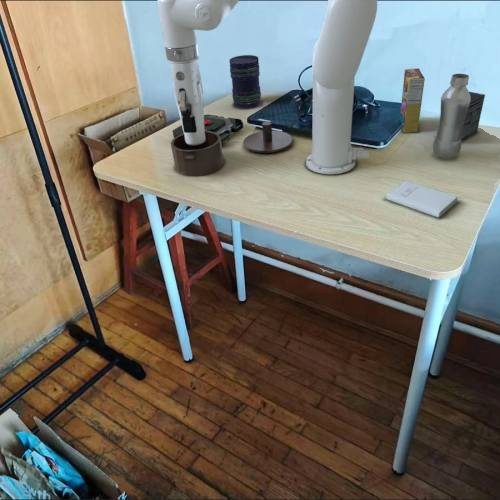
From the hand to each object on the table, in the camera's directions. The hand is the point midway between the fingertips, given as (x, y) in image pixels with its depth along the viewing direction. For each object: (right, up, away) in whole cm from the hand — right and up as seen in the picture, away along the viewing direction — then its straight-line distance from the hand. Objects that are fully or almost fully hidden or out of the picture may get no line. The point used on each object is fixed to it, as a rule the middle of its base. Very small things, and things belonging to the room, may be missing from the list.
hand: (193, 126), depth 117 cm
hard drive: (+52, -21, -16) cm, 59 cm away
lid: (+20, -1, +13) cm, 24 cm away
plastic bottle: (+65, -8, 0) cm, 65 cm away
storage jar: (+14, +19, +42) cm, 48 cm away
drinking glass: (0, -4, +3) cm, 5 cm away
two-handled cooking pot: (+1, -9, +7) cm, 11 cm away
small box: (+72, 0, +9) cm, 72 cm away
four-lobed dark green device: (+2, +3, +23) cm, 23 cm away
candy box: (+61, +4, +16) cm, 63 cm away
